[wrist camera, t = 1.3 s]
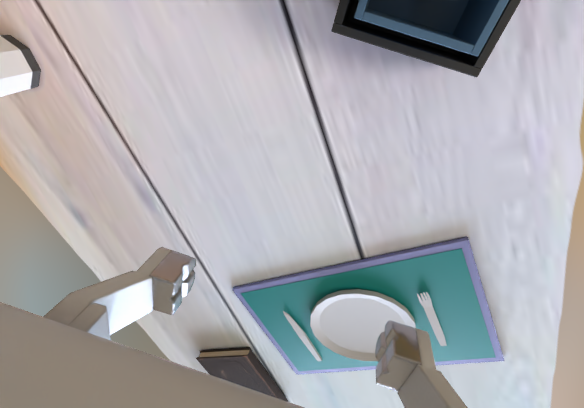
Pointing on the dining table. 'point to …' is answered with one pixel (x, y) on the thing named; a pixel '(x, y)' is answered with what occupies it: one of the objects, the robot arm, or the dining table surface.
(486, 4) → the caddy
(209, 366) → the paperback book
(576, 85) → the dining table surface
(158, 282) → the robot arm
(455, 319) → the place mat
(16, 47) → the wine bottle
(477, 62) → the tote
